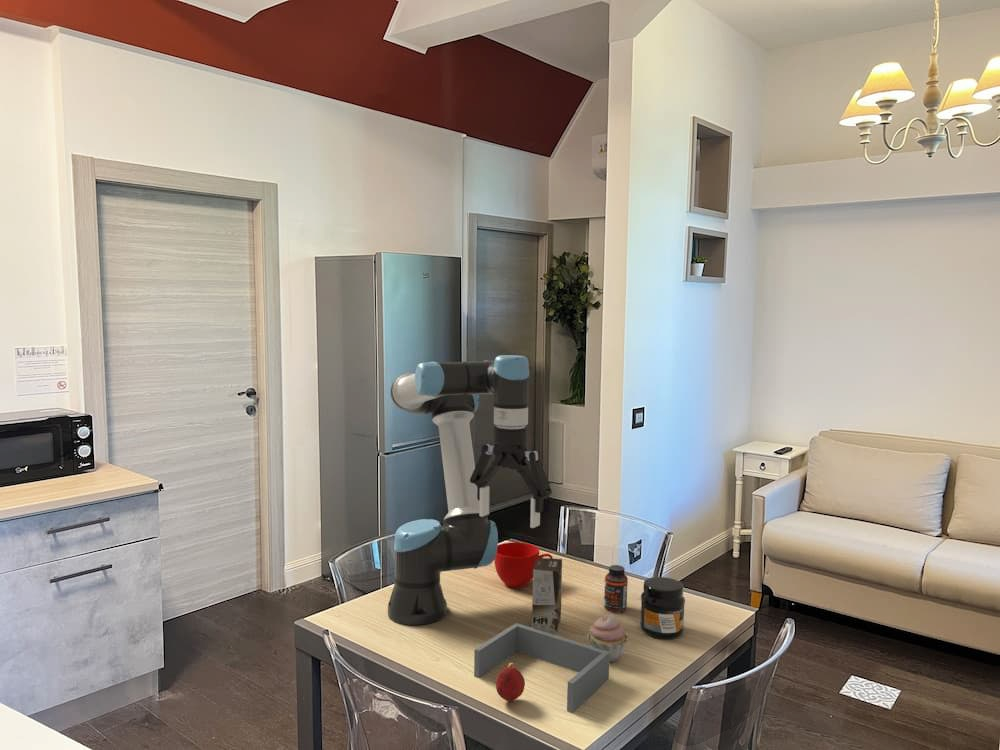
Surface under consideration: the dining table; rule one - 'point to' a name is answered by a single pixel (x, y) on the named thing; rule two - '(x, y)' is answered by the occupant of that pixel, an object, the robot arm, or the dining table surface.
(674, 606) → the supplement container
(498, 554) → the ceramic cup
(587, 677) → the open u-shaped frame
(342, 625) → the dining table surface
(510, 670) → the onion
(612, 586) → the supplement bottle
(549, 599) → the coffee box
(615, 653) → the cupcake
